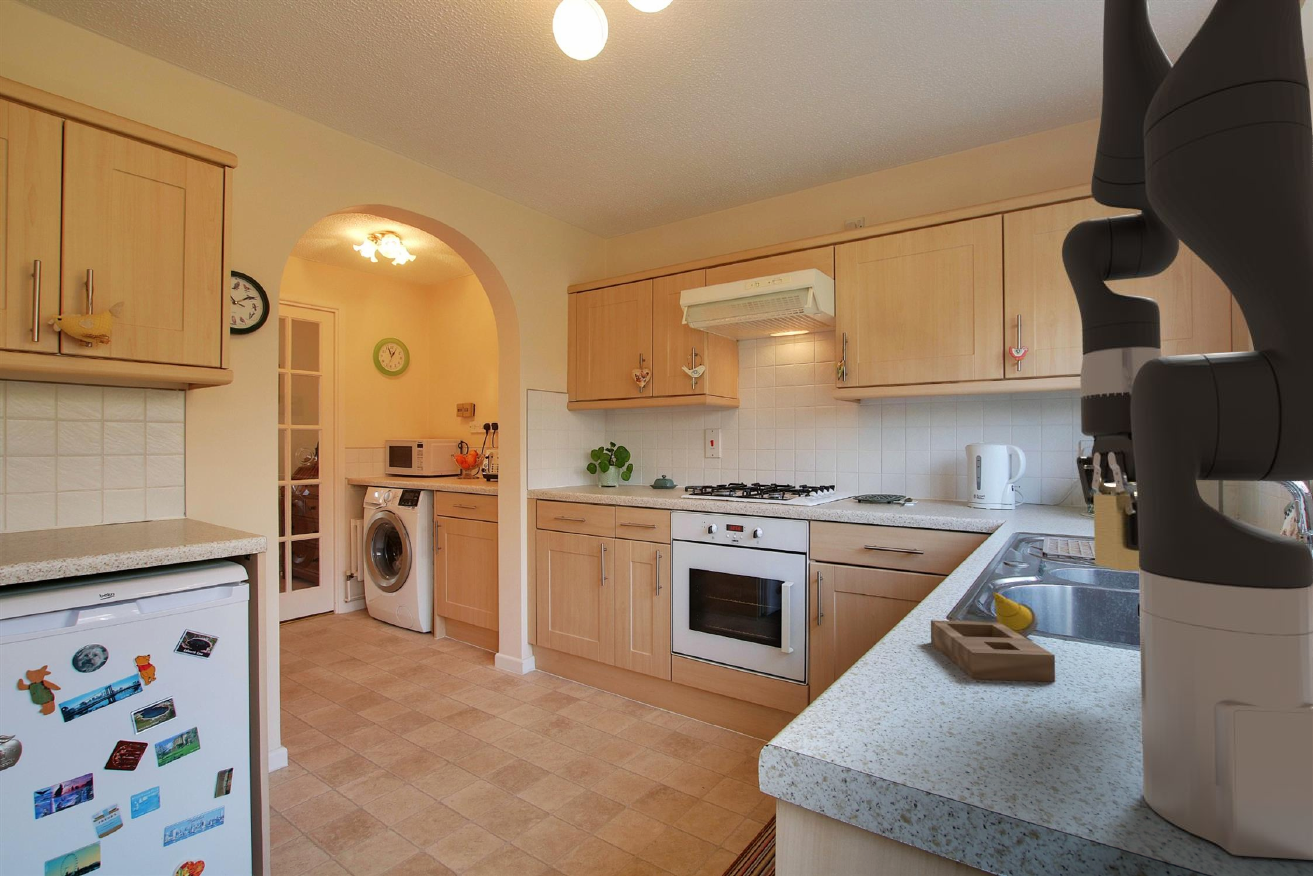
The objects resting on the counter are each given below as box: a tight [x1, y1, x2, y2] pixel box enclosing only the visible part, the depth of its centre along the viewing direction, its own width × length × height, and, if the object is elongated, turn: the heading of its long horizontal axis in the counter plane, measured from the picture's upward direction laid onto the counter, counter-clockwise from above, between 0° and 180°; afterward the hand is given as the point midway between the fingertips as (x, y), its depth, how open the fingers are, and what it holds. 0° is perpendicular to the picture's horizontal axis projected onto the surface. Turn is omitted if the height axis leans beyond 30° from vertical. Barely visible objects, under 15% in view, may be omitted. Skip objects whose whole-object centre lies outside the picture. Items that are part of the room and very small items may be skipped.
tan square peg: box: [1093, 493, 1140, 572], centre depth 68 cm, size 4×4×8 cm
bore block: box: [930, 619, 1056, 683], centre depth 78 cm, size 14×9×3 cm, turn 175°
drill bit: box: [993, 592, 1039, 638], centre depth 87 cm, size 5×5×10 cm
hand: (1124, 546), depth 68 cm, fingers closed on tan square peg, 4 cm apart
